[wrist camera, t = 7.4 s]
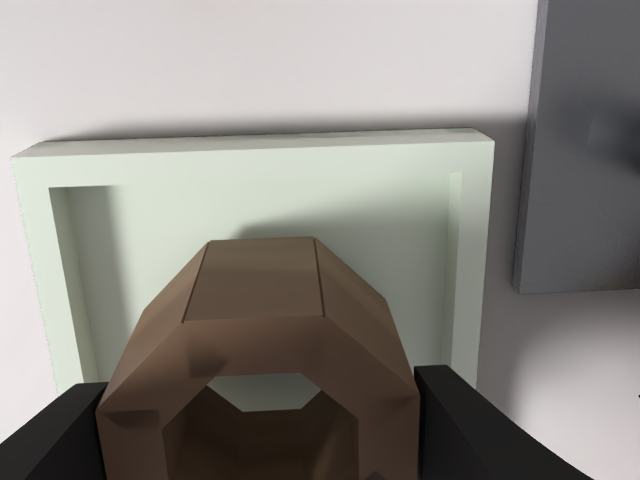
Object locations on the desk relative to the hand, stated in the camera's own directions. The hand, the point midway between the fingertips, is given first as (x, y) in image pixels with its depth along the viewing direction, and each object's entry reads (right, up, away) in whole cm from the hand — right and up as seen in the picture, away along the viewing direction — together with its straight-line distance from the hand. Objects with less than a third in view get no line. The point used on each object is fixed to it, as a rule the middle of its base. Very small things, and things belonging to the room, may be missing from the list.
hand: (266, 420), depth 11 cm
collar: (0, +1, +2) cm, 2 cm away
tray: (0, +1, +3) cm, 4 cm away
